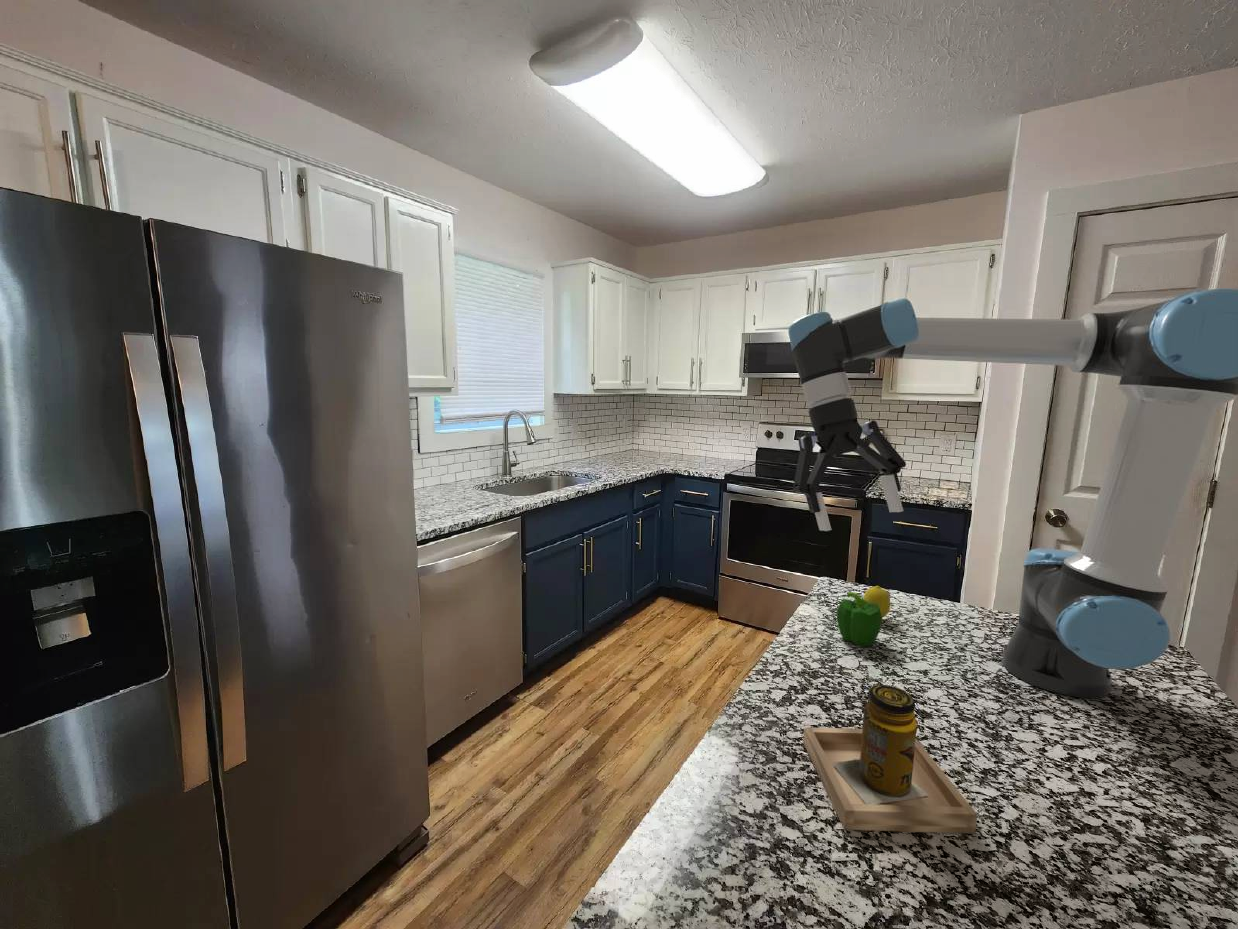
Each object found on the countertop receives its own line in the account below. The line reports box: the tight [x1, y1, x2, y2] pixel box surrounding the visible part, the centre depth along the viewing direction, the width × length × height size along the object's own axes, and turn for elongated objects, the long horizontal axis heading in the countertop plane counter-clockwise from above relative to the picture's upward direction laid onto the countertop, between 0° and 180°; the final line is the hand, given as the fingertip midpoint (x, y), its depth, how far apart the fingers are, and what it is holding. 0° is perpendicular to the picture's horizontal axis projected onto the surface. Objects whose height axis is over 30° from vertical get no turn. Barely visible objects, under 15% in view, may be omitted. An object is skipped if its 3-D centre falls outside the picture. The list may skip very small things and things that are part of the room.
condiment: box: [833, 684, 927, 805], centre depth 66 cm, size 7×8×12 cm
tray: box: [802, 726, 978, 835], centre depth 67 cm, size 15×15×2 cm
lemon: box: [862, 585, 891, 619], centre depth 116 cm, size 6×6×8 cm
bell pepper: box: [836, 591, 883, 647], centre depth 106 cm, size 8×8×10 cm
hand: (861, 521), depth 89 cm, fingers open, 13 cm apart
